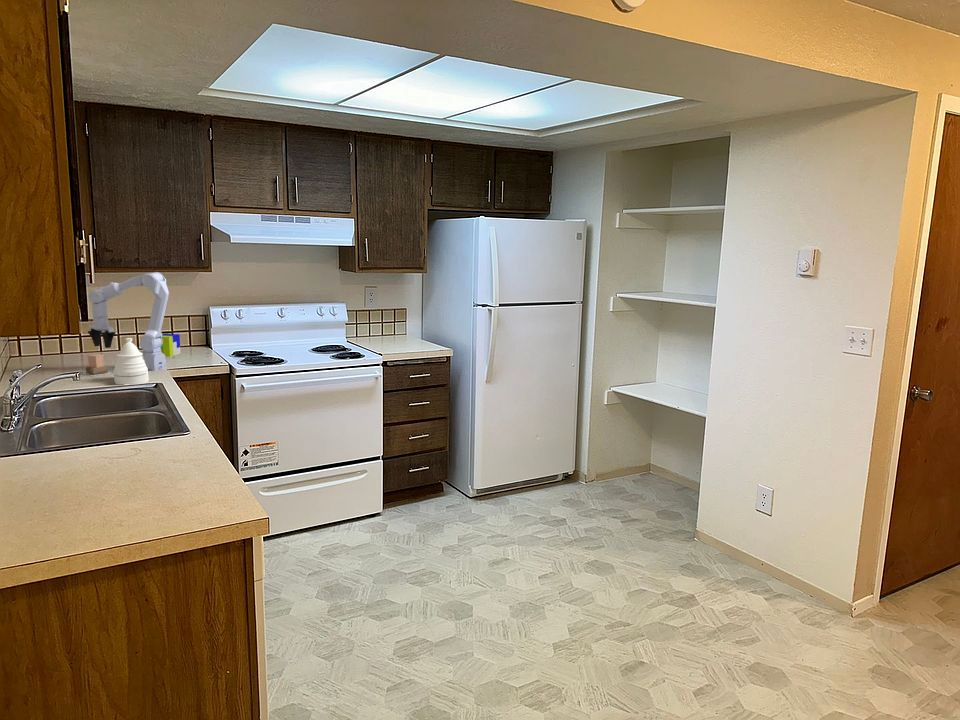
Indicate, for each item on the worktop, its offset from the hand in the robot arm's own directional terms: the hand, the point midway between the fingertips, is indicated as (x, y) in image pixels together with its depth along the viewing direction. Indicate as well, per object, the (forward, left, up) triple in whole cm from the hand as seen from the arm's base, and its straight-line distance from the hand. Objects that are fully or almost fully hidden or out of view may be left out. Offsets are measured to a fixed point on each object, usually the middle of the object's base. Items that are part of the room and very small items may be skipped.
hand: (102, 346), depth 302 cm
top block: (-10, +9, -6) cm, 15 cm away
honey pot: (-32, +7, -11) cm, 34 cm away
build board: (-9, +5, -10) cm, 15 cm away
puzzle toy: (+14, -40, -11) cm, 44 cm away
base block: (-10, +9, -9) cm, 16 cm away
